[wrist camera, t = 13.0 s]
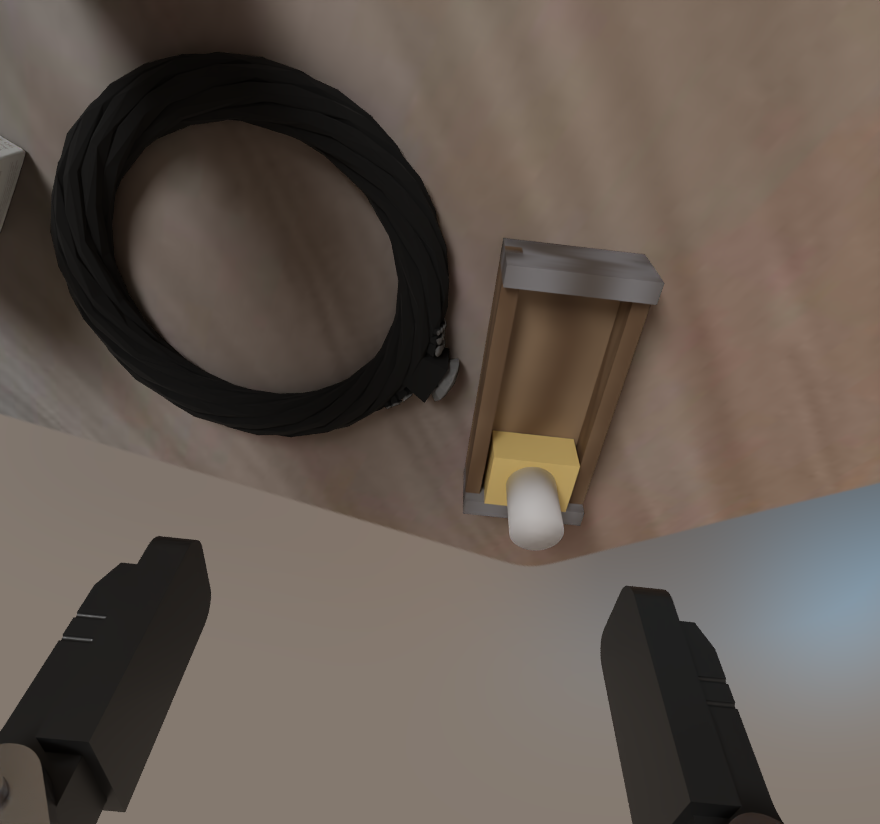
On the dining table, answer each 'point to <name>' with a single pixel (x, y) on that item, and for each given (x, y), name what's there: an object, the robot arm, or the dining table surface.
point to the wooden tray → (557, 354)
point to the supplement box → (8, 173)
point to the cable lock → (288, 112)
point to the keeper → (531, 484)
